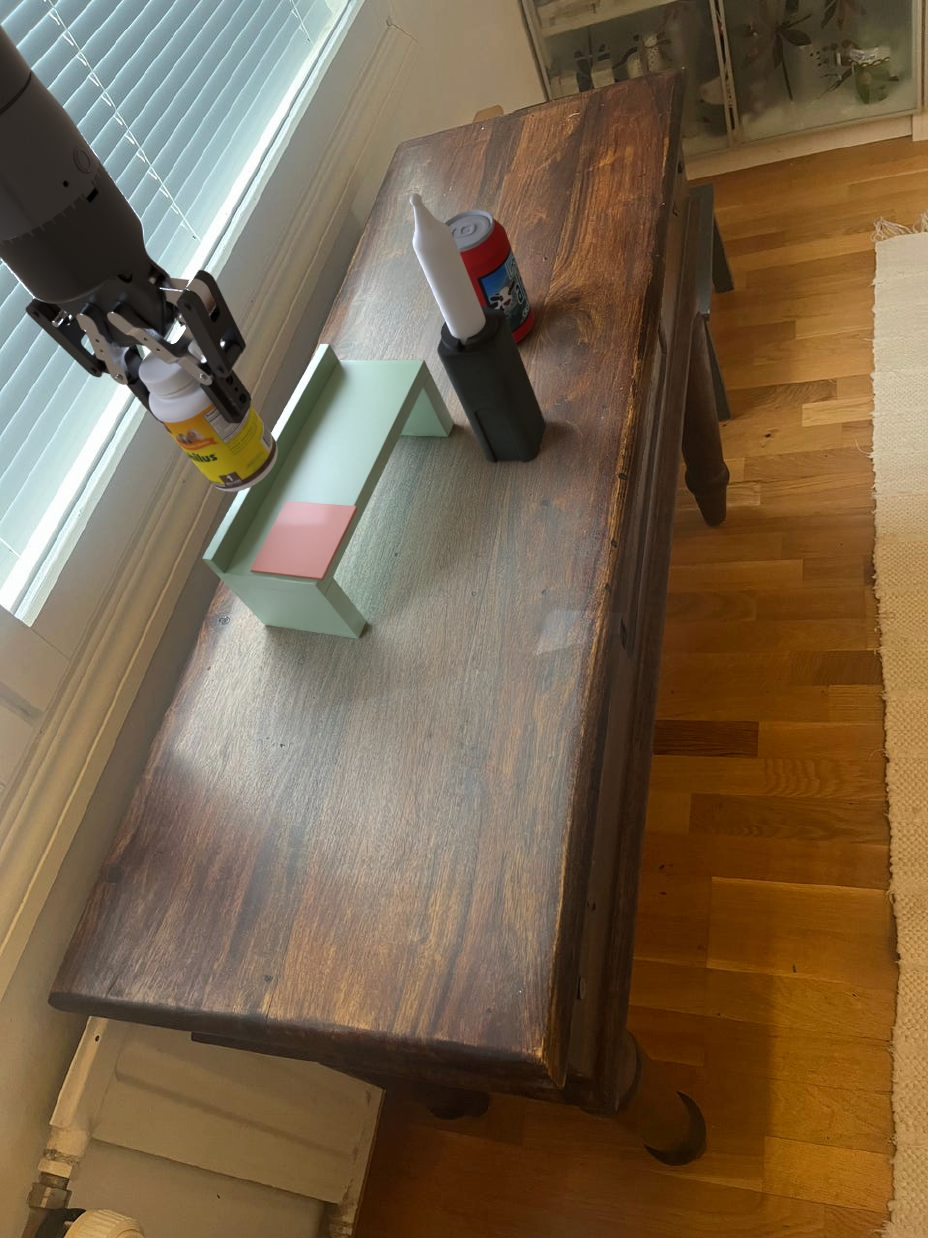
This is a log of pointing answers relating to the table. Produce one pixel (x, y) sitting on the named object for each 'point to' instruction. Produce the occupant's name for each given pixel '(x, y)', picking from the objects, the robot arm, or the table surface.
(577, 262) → the table surface
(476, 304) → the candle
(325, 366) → the shelf
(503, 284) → the beverage can
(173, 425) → the supplement bottle
